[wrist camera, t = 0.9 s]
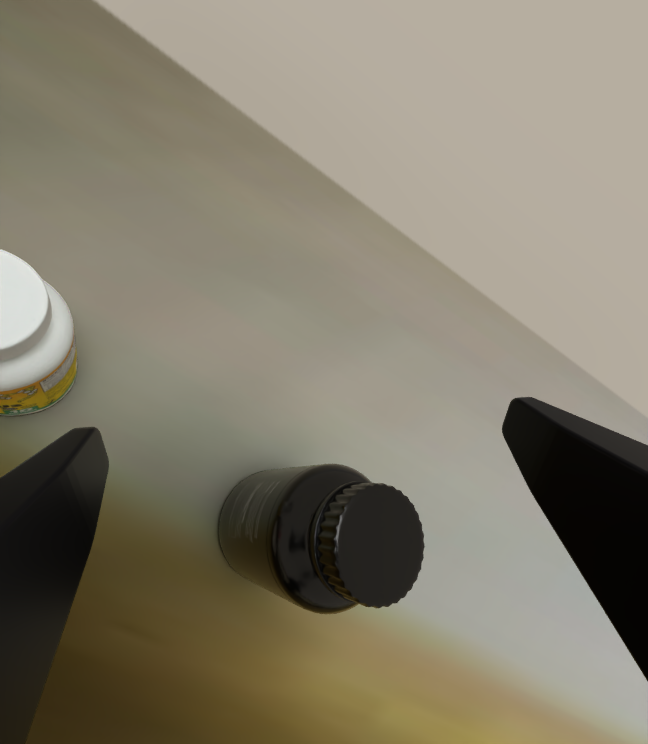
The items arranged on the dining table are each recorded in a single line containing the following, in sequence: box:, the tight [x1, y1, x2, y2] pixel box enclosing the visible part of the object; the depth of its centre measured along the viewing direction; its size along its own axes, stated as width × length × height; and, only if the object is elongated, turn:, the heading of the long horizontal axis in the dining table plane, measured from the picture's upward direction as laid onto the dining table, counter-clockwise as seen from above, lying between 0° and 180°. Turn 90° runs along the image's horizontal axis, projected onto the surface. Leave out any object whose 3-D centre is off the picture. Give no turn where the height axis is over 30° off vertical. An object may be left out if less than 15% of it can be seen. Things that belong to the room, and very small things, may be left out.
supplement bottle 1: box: [0, 249, 78, 416], centre depth 18 cm, size 5×5×10 cm
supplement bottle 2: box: [219, 464, 424, 614], centre depth 21 cm, size 7×7×12 cm
